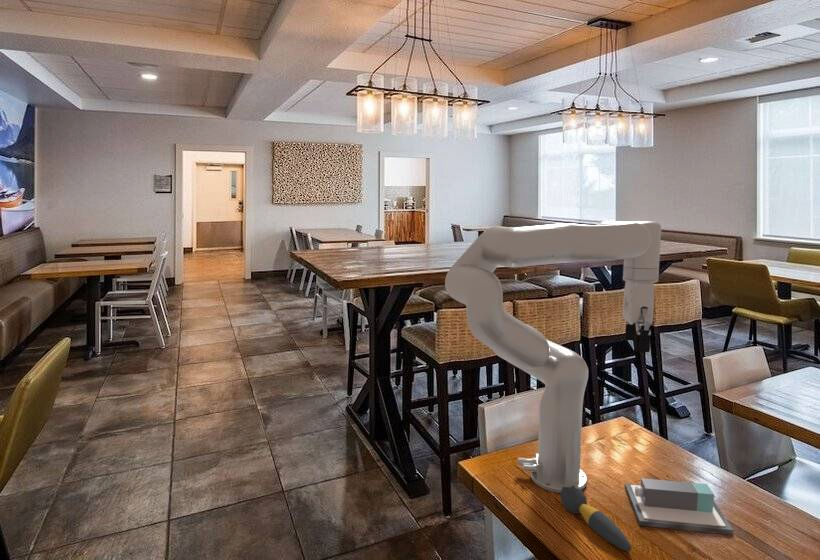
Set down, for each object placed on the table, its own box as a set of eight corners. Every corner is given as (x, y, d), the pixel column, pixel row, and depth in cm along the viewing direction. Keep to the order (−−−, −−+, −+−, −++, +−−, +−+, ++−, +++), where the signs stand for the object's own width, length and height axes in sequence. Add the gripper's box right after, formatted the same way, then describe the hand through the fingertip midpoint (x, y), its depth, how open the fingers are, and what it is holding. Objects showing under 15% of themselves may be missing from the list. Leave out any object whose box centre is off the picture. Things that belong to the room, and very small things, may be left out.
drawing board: (639, 525, 103) (640, 519, 103) (624, 487, 116) (625, 482, 116) (732, 534, 99) (733, 528, 99) (706, 494, 113) (706, 489, 113)
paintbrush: (643, 549, 96) (645, 524, 95) (625, 558, 94) (626, 533, 93) (566, 496, 113) (566, 476, 113) (549, 503, 111) (549, 482, 110)
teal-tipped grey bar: (637, 505, 107) (638, 487, 107) (633, 494, 111) (634, 477, 111) (712, 512, 105) (714, 494, 104) (705, 501, 109) (706, 483, 108)
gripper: (616, 269, 128) (613, 335, 131) (631, 280, 111) (628, 355, 114) (648, 269, 127) (644, 336, 129) (669, 280, 110) (664, 357, 113)
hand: (636, 345), depth 122 cm, fingers open, 9 cm apart
